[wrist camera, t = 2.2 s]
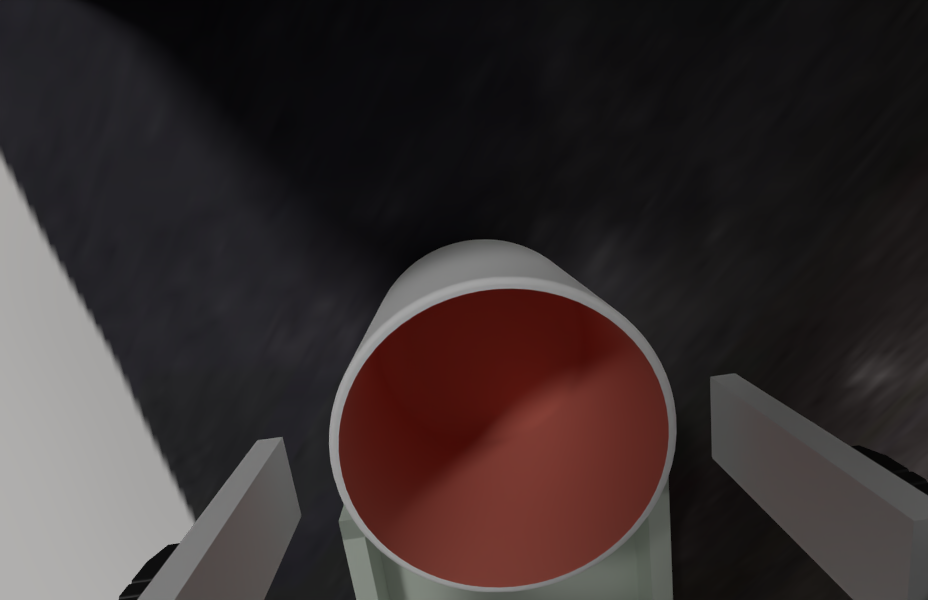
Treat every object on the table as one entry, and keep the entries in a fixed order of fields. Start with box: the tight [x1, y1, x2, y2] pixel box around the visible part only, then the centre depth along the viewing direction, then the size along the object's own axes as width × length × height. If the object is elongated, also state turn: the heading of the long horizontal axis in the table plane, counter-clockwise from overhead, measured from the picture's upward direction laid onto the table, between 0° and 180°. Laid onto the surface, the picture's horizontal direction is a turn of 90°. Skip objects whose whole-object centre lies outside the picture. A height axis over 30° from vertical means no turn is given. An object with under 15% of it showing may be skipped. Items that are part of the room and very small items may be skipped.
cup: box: [329, 239, 677, 592], centre depth 19 cm, size 10×10×10 cm
